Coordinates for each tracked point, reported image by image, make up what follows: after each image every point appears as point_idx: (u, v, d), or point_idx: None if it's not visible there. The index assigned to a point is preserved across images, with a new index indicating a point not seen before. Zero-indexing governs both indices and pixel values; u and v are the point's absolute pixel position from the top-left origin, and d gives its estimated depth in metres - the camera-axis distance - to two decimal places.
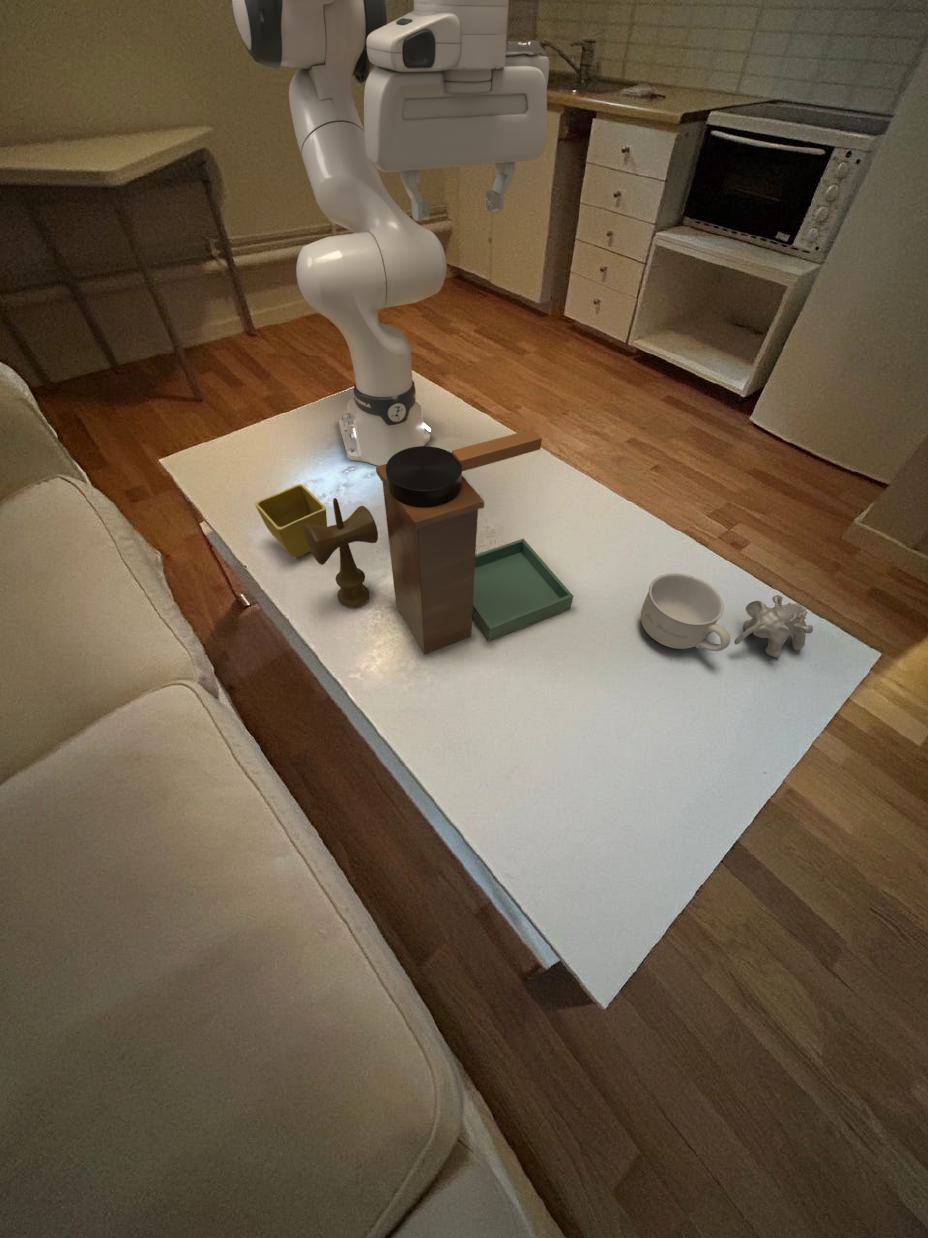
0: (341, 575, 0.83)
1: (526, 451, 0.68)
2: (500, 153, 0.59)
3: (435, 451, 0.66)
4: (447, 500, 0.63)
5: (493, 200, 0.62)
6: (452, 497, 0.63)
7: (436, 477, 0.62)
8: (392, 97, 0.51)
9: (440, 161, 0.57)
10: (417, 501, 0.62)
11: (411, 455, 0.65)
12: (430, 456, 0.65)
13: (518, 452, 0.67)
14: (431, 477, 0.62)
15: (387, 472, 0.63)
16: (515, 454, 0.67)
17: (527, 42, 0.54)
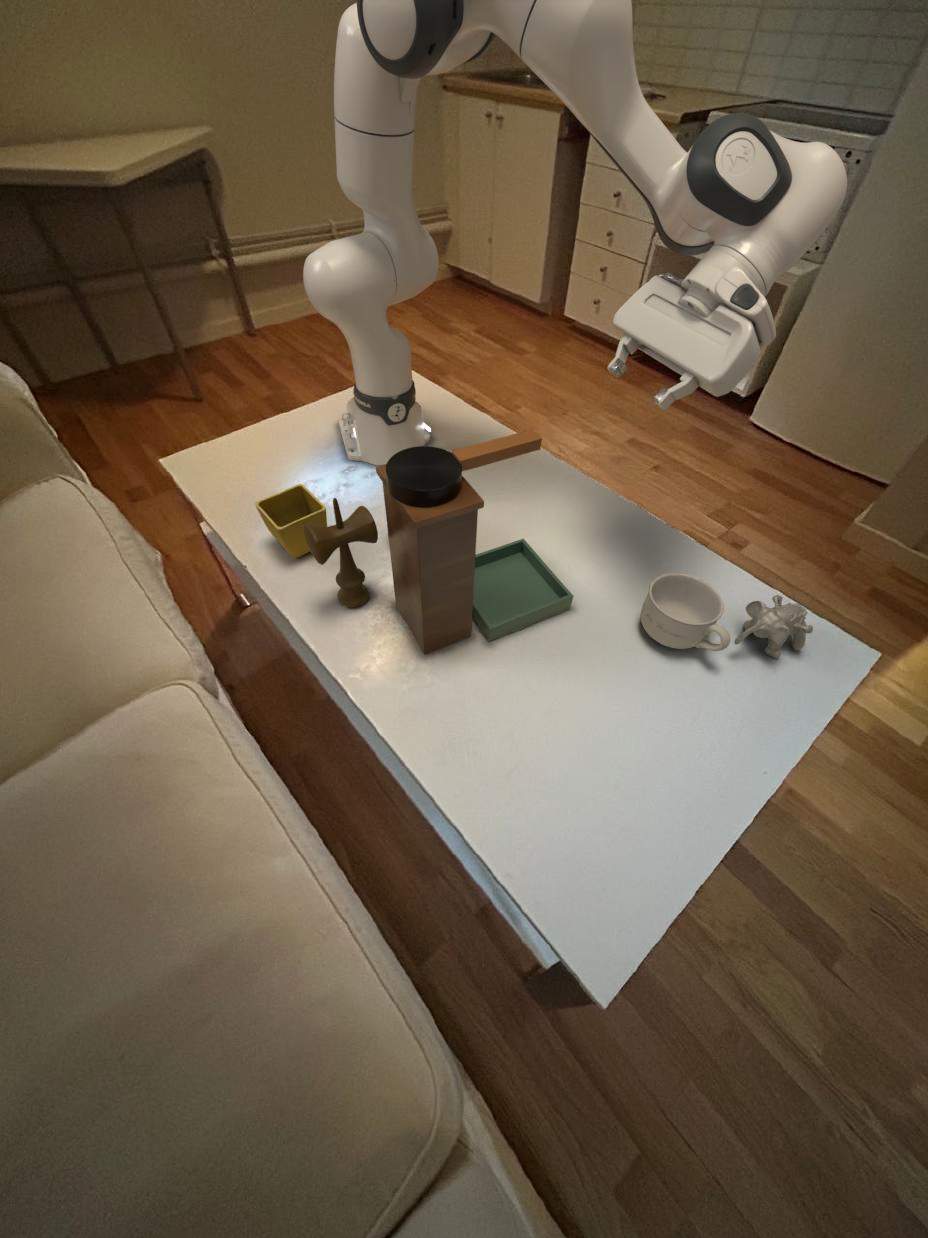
0: (341, 575, 0.83)
1: (526, 451, 0.68)
2: None
3: (435, 451, 0.66)
4: (447, 500, 0.63)
5: (624, 371, 0.73)
6: (452, 497, 0.63)
7: (436, 477, 0.62)
8: None
9: None
10: (417, 501, 0.62)
11: (411, 455, 0.65)
12: (430, 455, 0.65)
13: (518, 452, 0.67)
14: (431, 477, 0.62)
15: (387, 472, 0.63)
16: (515, 454, 0.67)
17: None
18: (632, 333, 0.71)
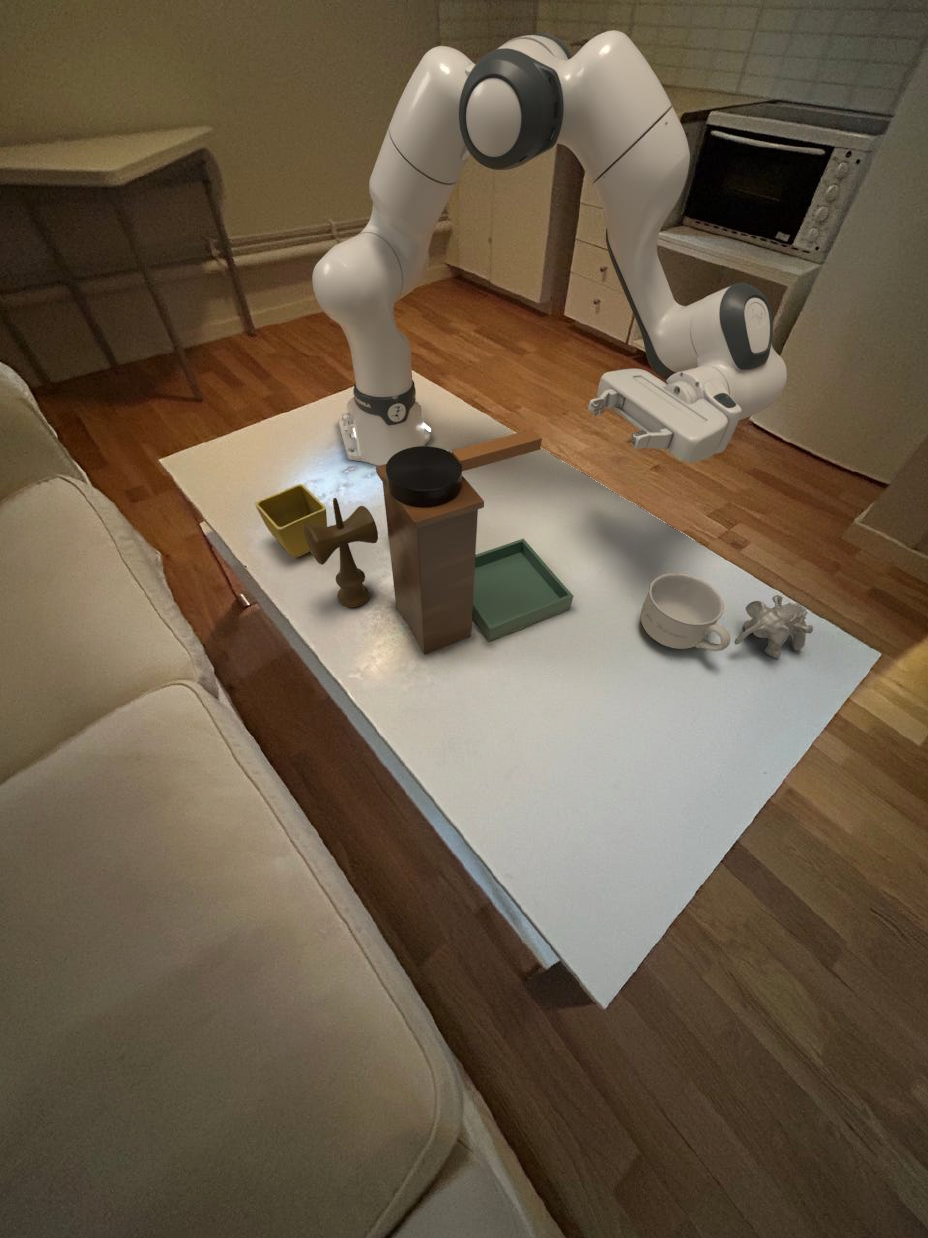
0: (341, 575, 0.83)
1: (526, 451, 0.68)
2: None
3: (435, 451, 0.66)
4: (447, 500, 0.63)
5: (599, 414, 0.77)
6: (452, 497, 0.63)
7: (436, 477, 0.62)
8: None
9: None
10: (417, 501, 0.62)
11: (411, 455, 0.65)
12: (430, 455, 0.65)
13: (518, 452, 0.67)
14: (431, 477, 0.62)
15: (387, 472, 0.63)
16: (515, 454, 0.67)
17: None
18: (620, 388, 0.77)
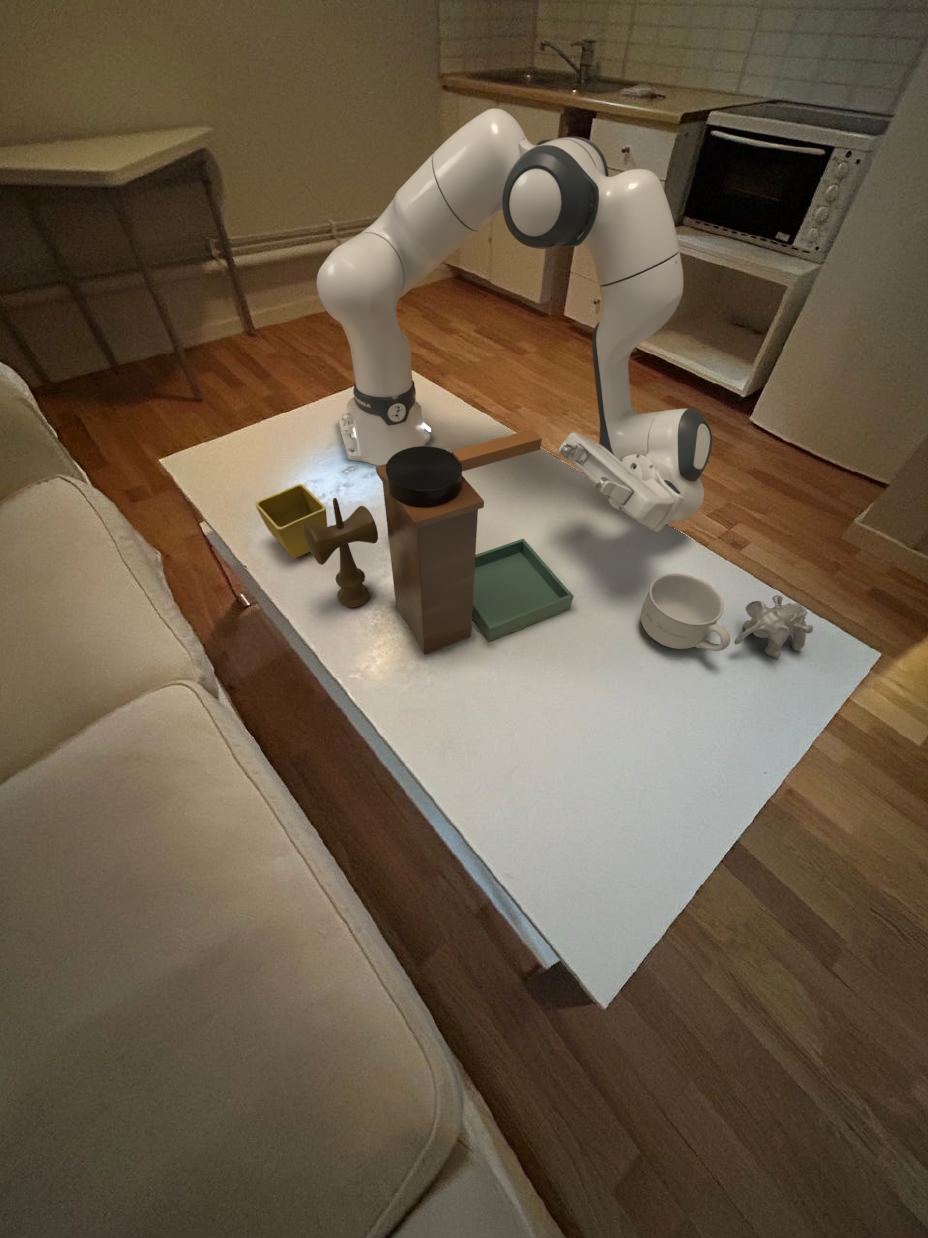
0: (341, 575, 0.83)
1: (526, 451, 0.68)
2: None
3: (435, 451, 0.66)
4: (447, 500, 0.63)
5: (566, 458, 0.80)
6: (452, 497, 0.63)
7: (436, 477, 0.62)
8: None
9: (608, 495, 0.79)
10: (417, 501, 0.62)
11: (411, 455, 0.65)
12: (430, 455, 0.65)
13: (518, 452, 0.67)
14: (431, 477, 0.62)
15: (387, 472, 0.63)
16: (515, 454, 0.67)
17: None
18: (588, 445, 0.82)
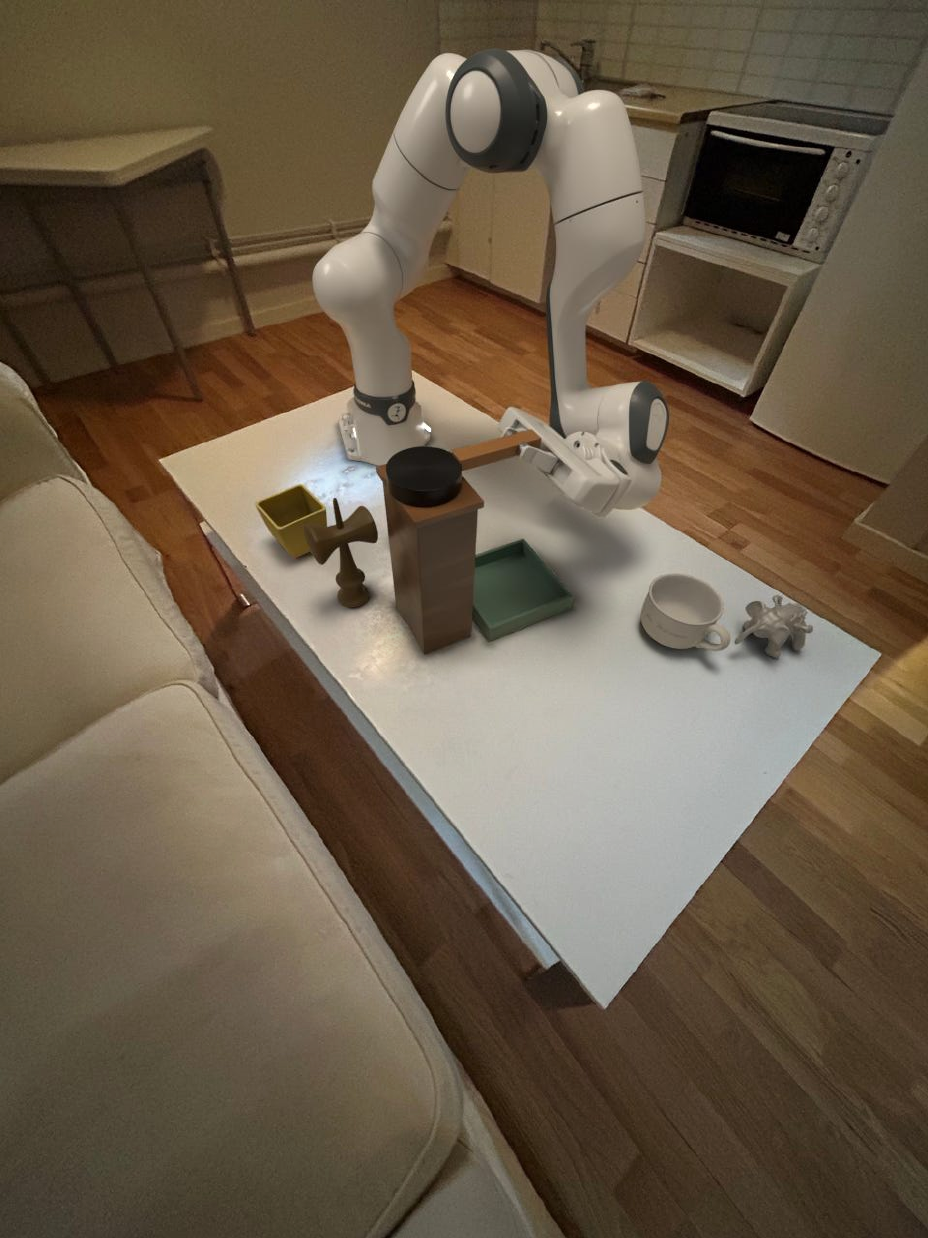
0: (341, 575, 0.83)
1: None
2: None
3: (435, 451, 0.66)
4: (447, 500, 0.63)
5: None
6: (452, 497, 0.63)
7: (436, 477, 0.62)
8: None
9: (546, 476, 0.70)
10: (417, 501, 0.62)
11: (411, 455, 0.65)
12: (430, 456, 0.65)
13: None
14: (431, 477, 0.62)
15: (387, 472, 0.63)
16: (515, 454, 0.67)
17: None
18: (525, 421, 0.73)
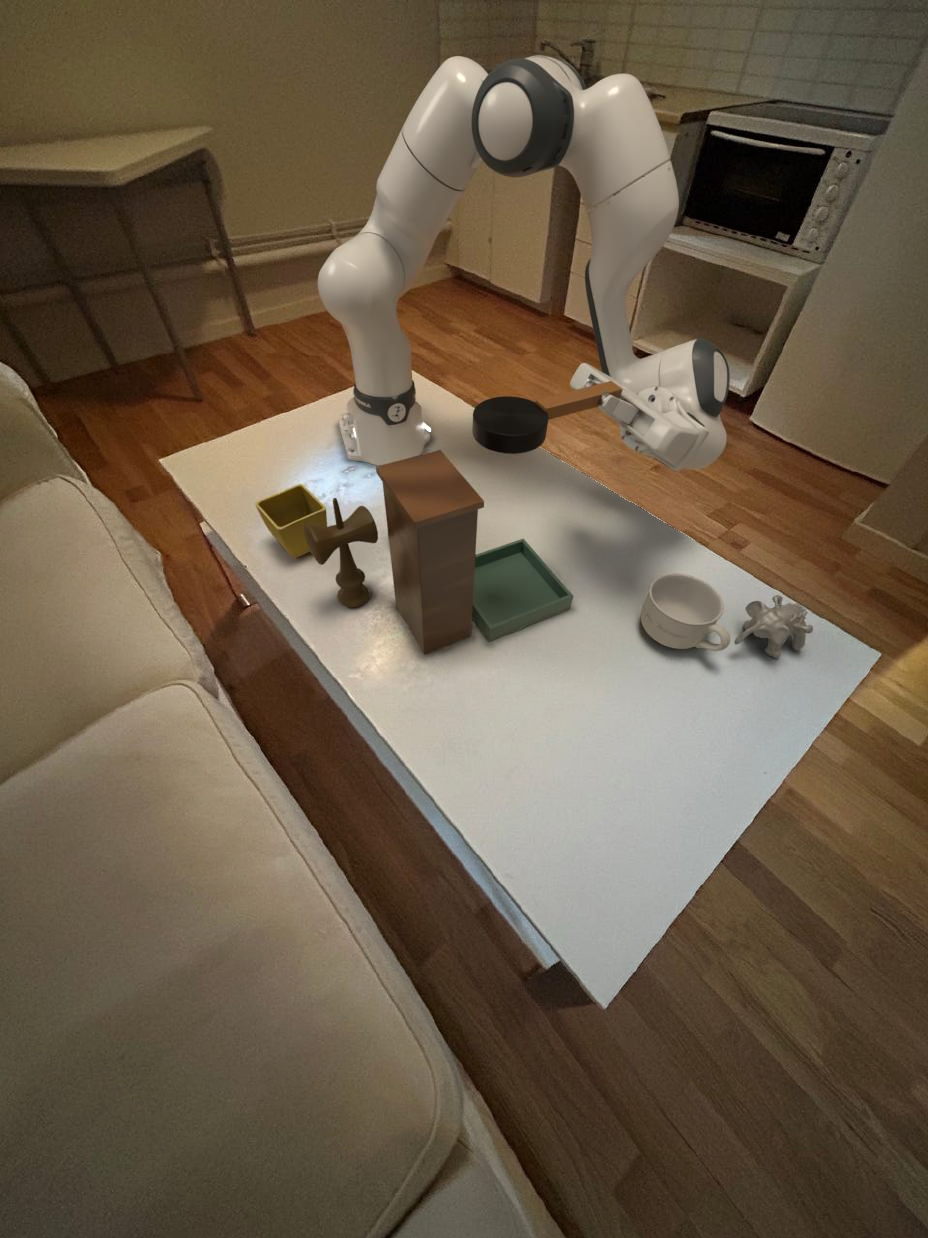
0: (341, 575, 0.83)
1: None
2: None
3: (519, 401, 0.66)
4: (534, 447, 0.64)
5: None
6: (539, 444, 0.64)
7: (524, 424, 0.63)
8: (668, 462, 0.71)
9: (624, 428, 0.71)
10: (506, 447, 0.63)
11: (495, 404, 0.66)
12: (514, 405, 0.66)
13: None
14: (519, 424, 0.63)
15: (475, 419, 0.63)
16: (596, 404, 0.68)
17: None
18: (601, 375, 0.73)
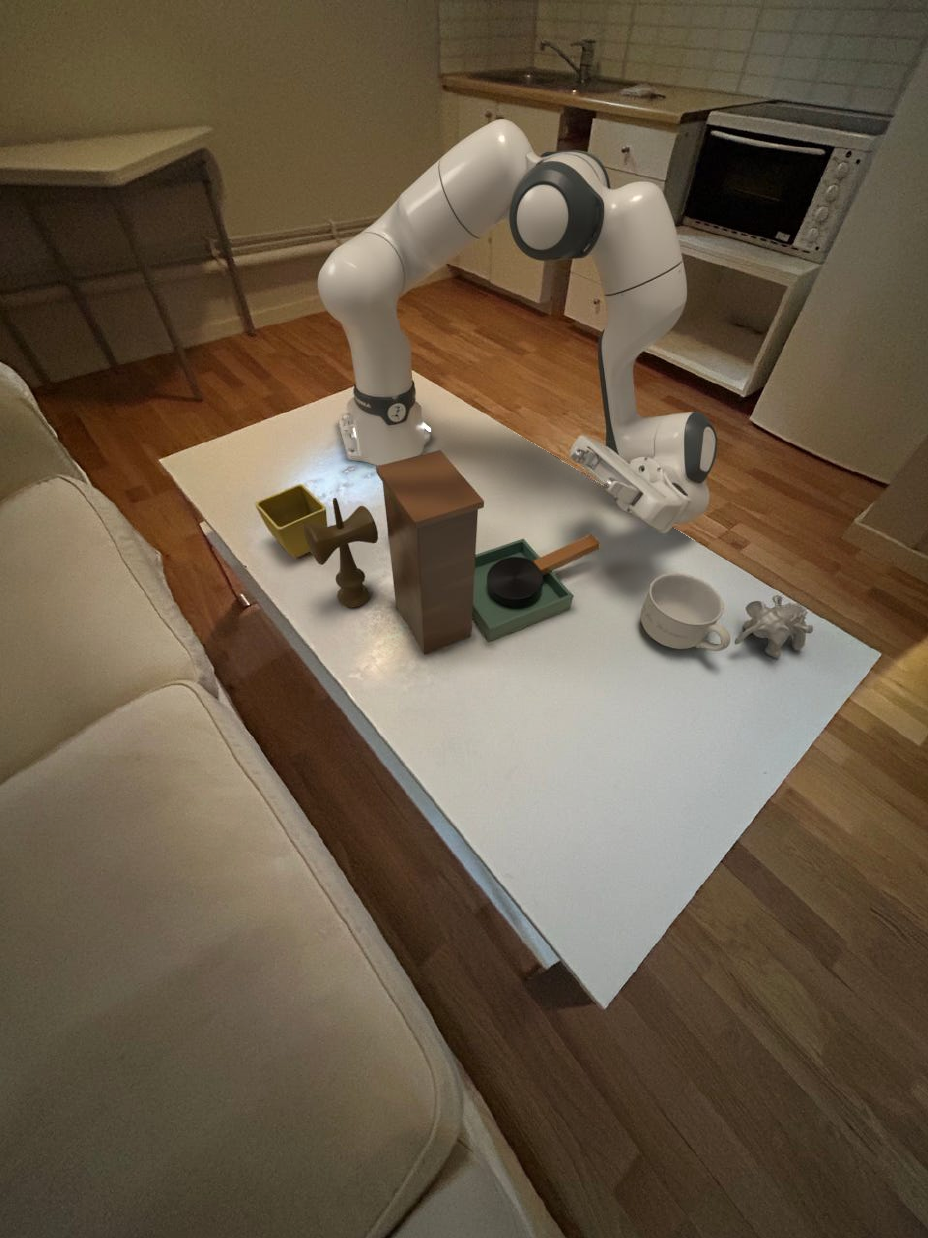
0: (341, 575, 0.83)
1: (588, 553, 0.90)
2: None
3: (521, 561, 0.89)
4: (533, 601, 0.86)
5: None
6: (537, 598, 0.87)
7: (524, 586, 0.86)
8: None
9: (617, 497, 0.80)
10: (512, 605, 0.86)
11: (503, 566, 0.89)
12: (517, 566, 0.89)
13: (582, 555, 0.90)
14: (521, 586, 0.86)
15: (489, 584, 0.87)
16: (580, 556, 0.90)
17: None
18: (597, 448, 0.83)
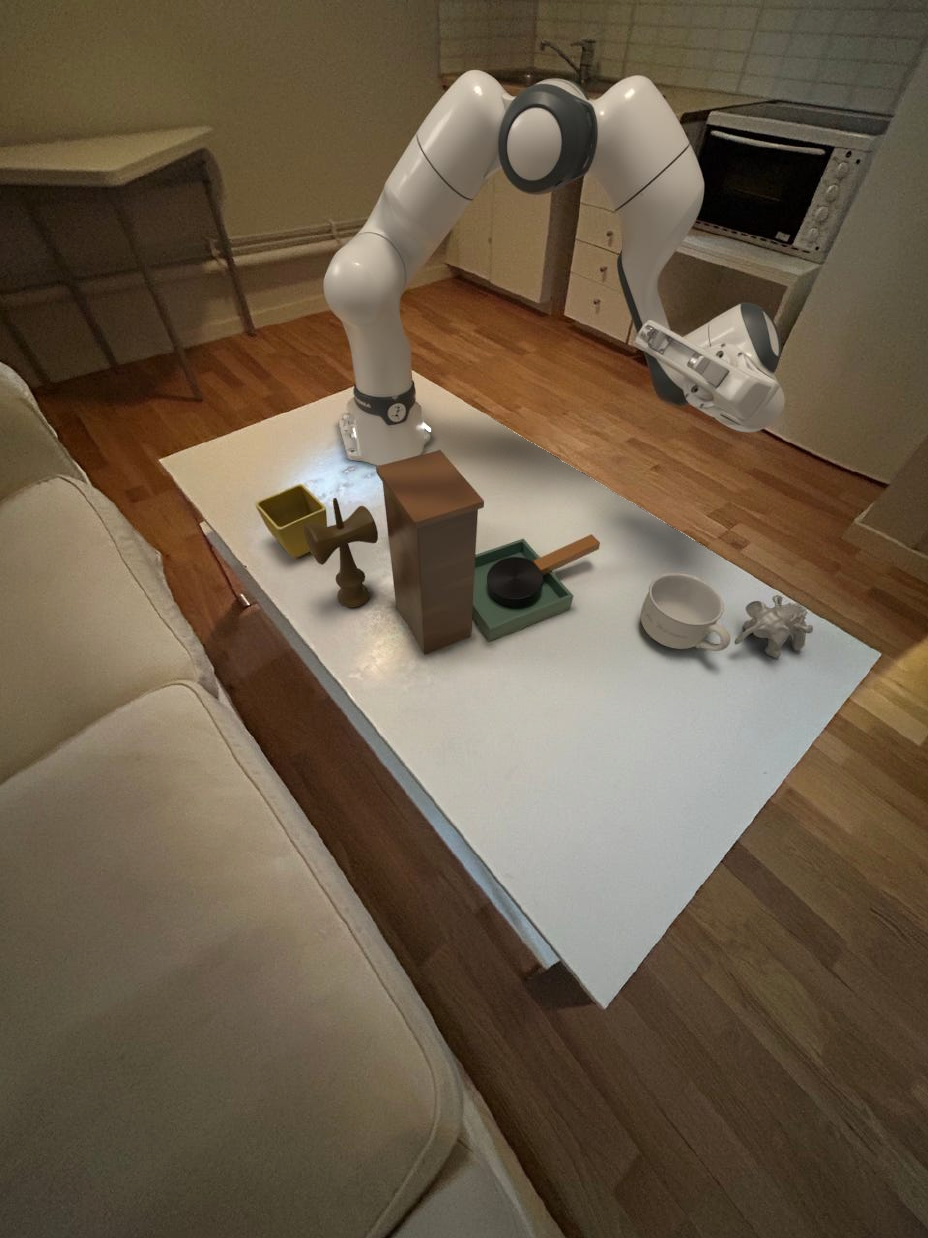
0: (341, 575, 0.83)
1: (588, 553, 0.90)
2: (660, 360, 0.75)
3: (521, 561, 0.89)
4: (533, 601, 0.86)
5: (648, 342, 0.72)
6: (537, 598, 0.87)
7: (524, 586, 0.86)
8: (738, 416, 0.71)
9: (695, 382, 0.71)
10: (512, 605, 0.86)
11: (503, 566, 0.89)
12: (517, 566, 0.89)
13: (582, 555, 0.90)
14: (521, 586, 0.86)
15: (489, 584, 0.87)
16: (580, 556, 0.90)
17: None
18: (669, 330, 0.73)
